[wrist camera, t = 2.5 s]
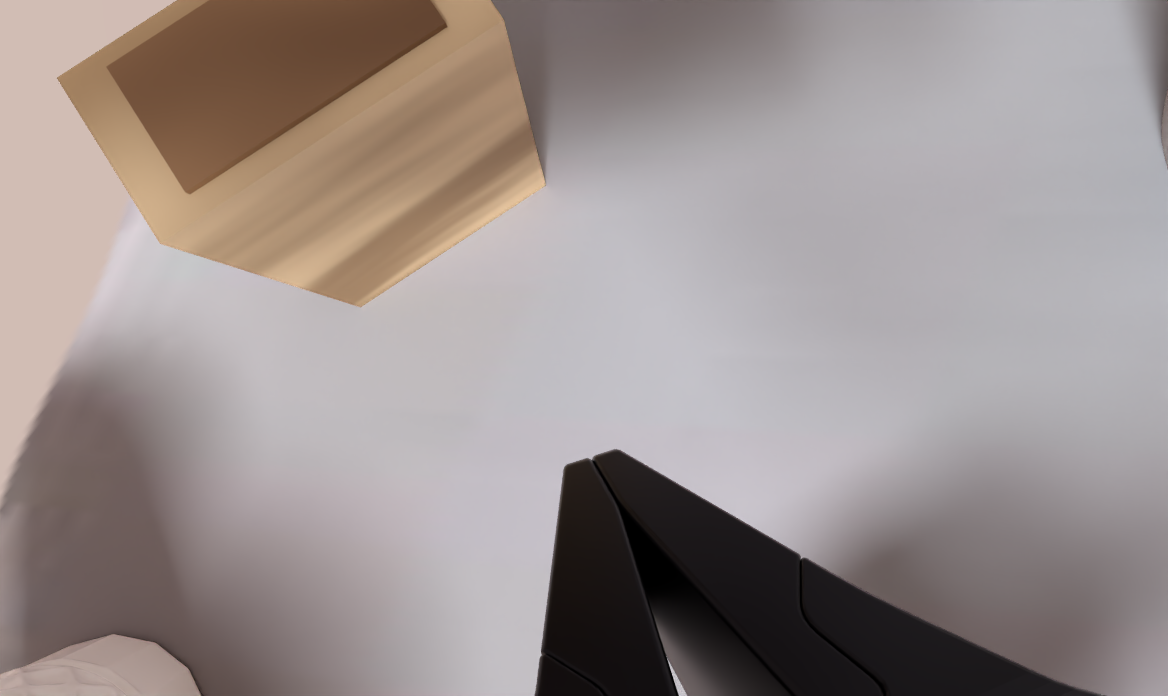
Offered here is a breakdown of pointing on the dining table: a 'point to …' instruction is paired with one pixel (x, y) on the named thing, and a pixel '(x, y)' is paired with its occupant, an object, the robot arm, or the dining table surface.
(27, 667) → the white cup
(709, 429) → the dining table surface
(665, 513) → the robot arm
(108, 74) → the oak block
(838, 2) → the dining table surface
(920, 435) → the dining table surface
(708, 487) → the dining table surface
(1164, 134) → the lumpy-topped squat cylinder
